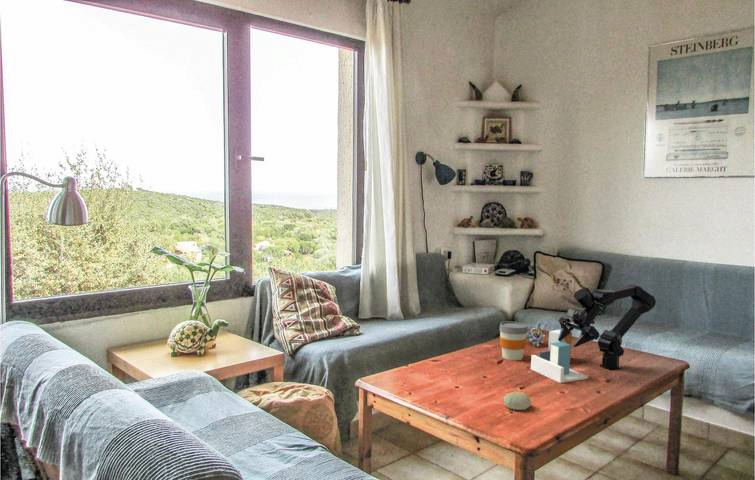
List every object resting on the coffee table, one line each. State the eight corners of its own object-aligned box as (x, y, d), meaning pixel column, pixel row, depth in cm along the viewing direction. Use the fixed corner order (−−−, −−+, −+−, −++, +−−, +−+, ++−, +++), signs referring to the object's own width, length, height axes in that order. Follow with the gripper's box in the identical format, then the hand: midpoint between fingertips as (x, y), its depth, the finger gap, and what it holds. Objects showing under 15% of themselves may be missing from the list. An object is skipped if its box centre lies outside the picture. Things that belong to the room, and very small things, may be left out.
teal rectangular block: (560, 370, 237) (562, 341, 236) (569, 373, 233) (570, 345, 232) (549, 371, 235) (550, 343, 234) (557, 375, 230) (559, 346, 229)
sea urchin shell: (498, 396, 204) (514, 381, 204) (512, 411, 205) (528, 396, 205) (505, 406, 195) (522, 390, 195) (520, 422, 196) (537, 406, 196)
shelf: (556, 365, 247) (557, 347, 246) (587, 378, 230) (588, 359, 230) (530, 369, 241) (531, 350, 240) (560, 382, 225) (561, 363, 224)
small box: (558, 363, 249) (560, 334, 248) (547, 359, 255) (548, 331, 253) (570, 360, 254) (572, 332, 252) (559, 356, 259) (560, 328, 258)
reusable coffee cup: (530, 356, 259) (532, 323, 258) (521, 363, 249) (523, 329, 247) (503, 351, 266) (505, 319, 264) (494, 358, 255) (495, 325, 254)
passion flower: (536, 357, 276) (532, 341, 269) (518, 348, 284) (513, 332, 277) (550, 341, 280) (546, 325, 274) (532, 333, 288) (527, 317, 281)
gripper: (562, 298, 243) (540, 325, 240) (595, 307, 226) (572, 336, 223) (576, 314, 247) (554, 342, 243) (609, 324, 230) (587, 354, 226)
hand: (566, 343), depth 234 cm, fingers open, 9 cm apart
